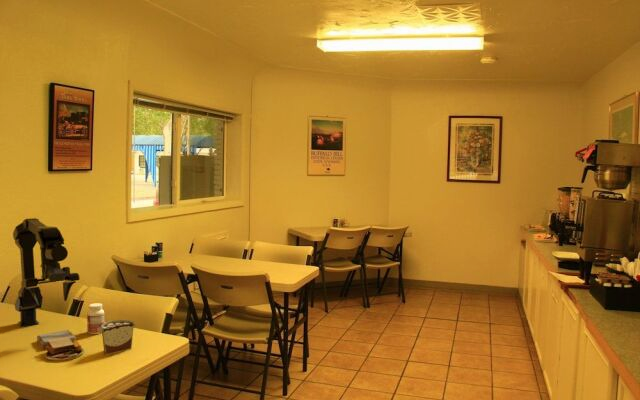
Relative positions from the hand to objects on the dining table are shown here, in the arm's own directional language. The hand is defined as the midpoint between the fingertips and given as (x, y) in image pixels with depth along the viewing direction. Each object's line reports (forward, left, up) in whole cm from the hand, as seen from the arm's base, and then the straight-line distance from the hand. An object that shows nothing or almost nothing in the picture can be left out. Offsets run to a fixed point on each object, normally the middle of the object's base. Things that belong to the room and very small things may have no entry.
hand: (52, 303), depth 195 cm
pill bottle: (-1, +16, -15) cm, 21 cm away
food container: (+22, +16, -15) cm, 31 cm away
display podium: (+3, +1, -14) cm, 15 cm away
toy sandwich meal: (+17, -1, -15) cm, 23 cm away
